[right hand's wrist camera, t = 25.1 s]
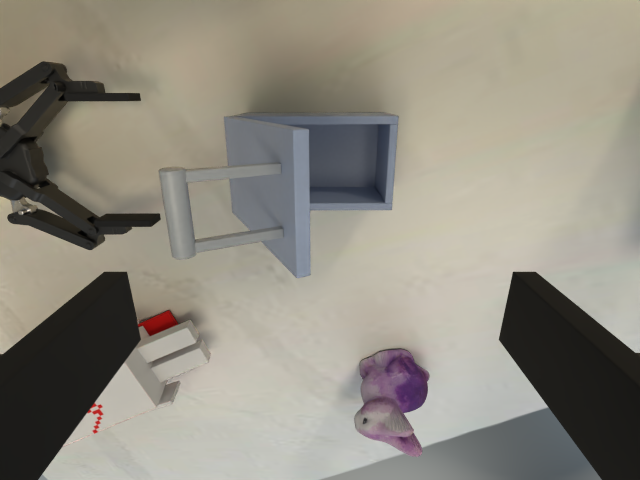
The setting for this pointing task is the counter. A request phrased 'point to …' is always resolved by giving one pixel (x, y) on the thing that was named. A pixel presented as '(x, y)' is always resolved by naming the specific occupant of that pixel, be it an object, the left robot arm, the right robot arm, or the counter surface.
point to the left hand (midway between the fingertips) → (146, 162)
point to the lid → (251, 193)
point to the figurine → (391, 398)
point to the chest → (346, 157)
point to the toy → (146, 374)
